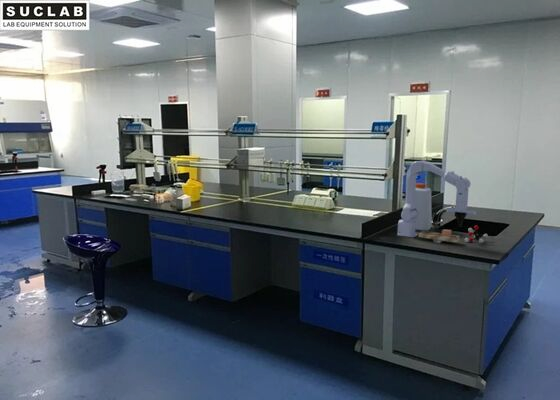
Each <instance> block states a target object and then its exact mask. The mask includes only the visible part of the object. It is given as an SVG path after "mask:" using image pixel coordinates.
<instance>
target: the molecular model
mask: <svg viewBox="0 0 560 400" xmlns="http://www.w3.org/2000/svg"><path fill="white" fill-rule="evenodd" d="M473 228H474V229H473ZM473 228H472V227H469V228H468V230H467V231H468V232H467V235H468V236H469V238H468V237H465V238H464V242H466V243H467V242H468V243H469V242H470V243H471V242H473V240H474V241H475V240H476V241H477V240H478V242H479V243H480V244H483V243H484V242H485V241H484V239H487V238H489V235H488V233H484V234H482V233H479V232H478V230H479V226H478V225H474V226H473ZM473 235H474V236H473ZM472 236H473V238H472ZM483 238H484V239H483Z"/></svg>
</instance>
